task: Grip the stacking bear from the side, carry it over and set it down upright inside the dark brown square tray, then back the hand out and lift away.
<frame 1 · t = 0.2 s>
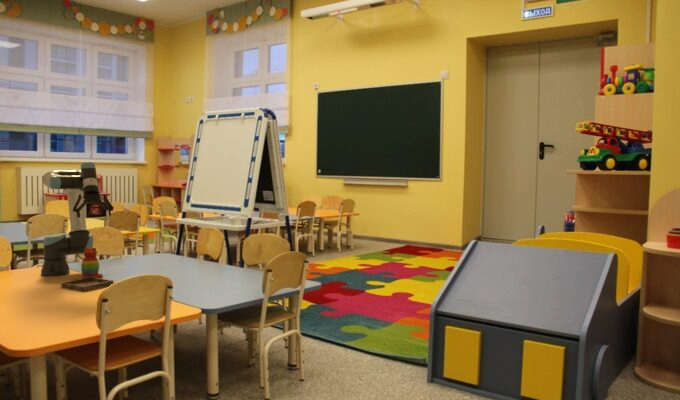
hand: (95, 222, 294), 35 cm above the table, tool tilted 35°, fingers open, 13 cm apart
dark brown square tray: (87, 286, 296), on the table
stacking bear: (90, 278, 317), on the table
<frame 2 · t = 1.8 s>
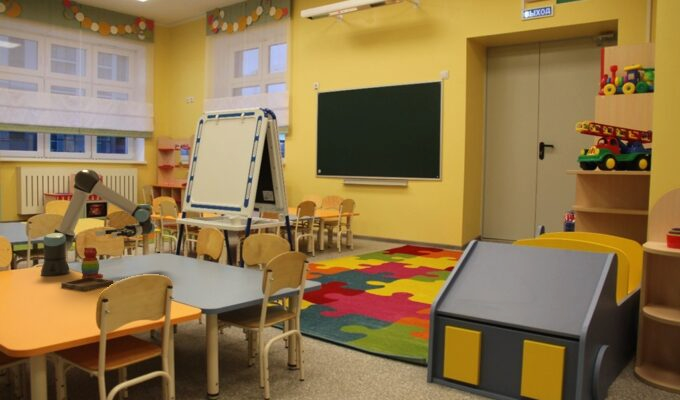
hand: (103, 234, 323), 24 cm above the table, tool horizontal, fingers open, 13 cm apart
nothing on the table moved.
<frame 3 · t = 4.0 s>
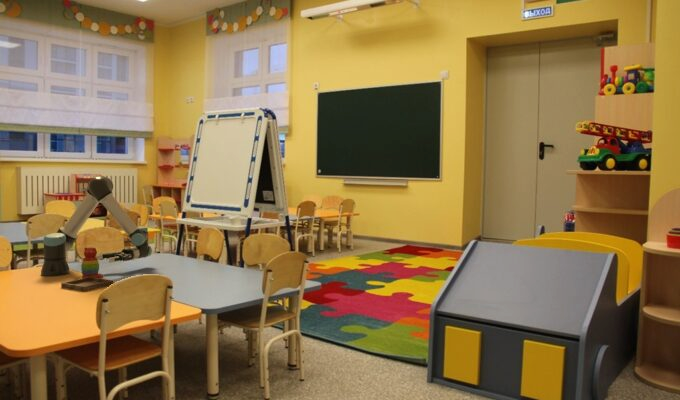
hand: (101, 259, 322), 10 cm above the table, tool horizontal, fingers open, 13 cm apart
nothing on the table moved.
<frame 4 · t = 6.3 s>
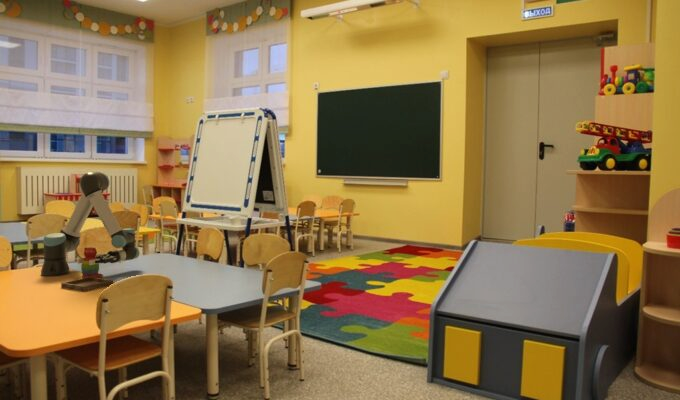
hand: (83, 262, 312), 10 cm above the table, tool horizontal, fingers closed on stacking bear, 9 cm apart
stacking bear: (90, 278, 317), on the table, touching gripper
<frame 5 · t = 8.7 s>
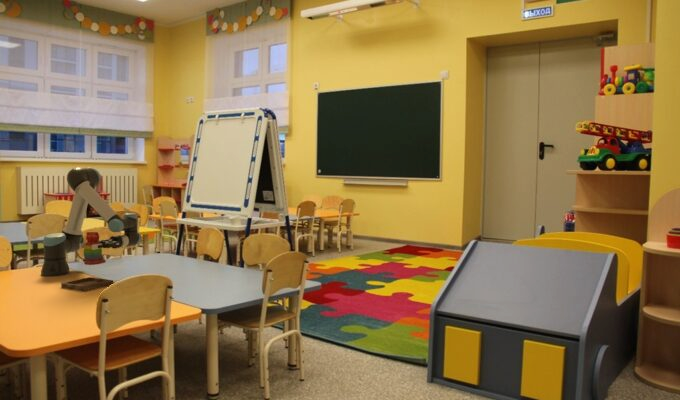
hand: (86, 246, 304), 20 cm above the table, tool horizontal, fingers closed on stacking bear, 9 cm apart
stacking bear: (93, 263, 309), point 10 cm above the table, touching gripper
when the fingers open (12 cm above the table, at t = 11.4 s): stacking bear drops 1 cm, resting on dark brown square tray.
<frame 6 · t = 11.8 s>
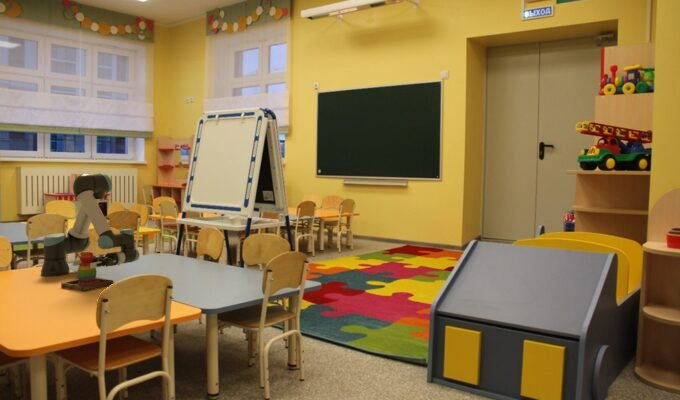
hand: (81, 264, 292), 12 cm above the table, tool horizontal, fingers open, 13 cm apart
stacking bear: (87, 285, 296), point 1 cm above the table, touching dark brown square tray
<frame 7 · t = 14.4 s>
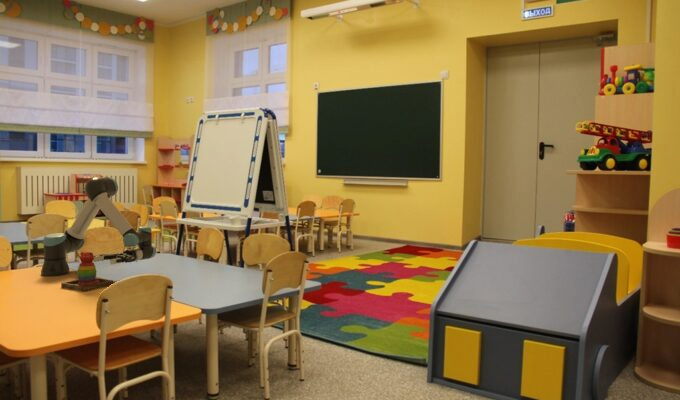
hand: (102, 260, 304), 12 cm above the table, tool horizontal, fingers open, 13 cm apart
nothing on the table moved.
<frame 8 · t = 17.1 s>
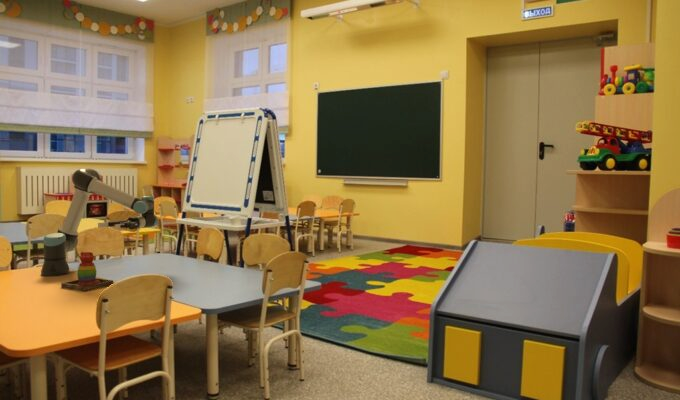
hand: (106, 226, 315), 30 cm above the table, tool horizontal, fingers open, 13 cm apart
nothing on the table moved.
at the end: stacking bear inside the target area on the dark brown square tray (0.1 cm from its centre), point 0.6 cm above the dark brown square tray's base; stacking bear tilted 0°; the gripper is holding nothing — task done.
